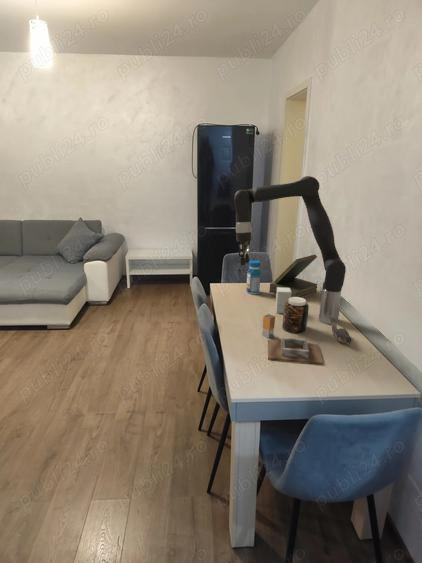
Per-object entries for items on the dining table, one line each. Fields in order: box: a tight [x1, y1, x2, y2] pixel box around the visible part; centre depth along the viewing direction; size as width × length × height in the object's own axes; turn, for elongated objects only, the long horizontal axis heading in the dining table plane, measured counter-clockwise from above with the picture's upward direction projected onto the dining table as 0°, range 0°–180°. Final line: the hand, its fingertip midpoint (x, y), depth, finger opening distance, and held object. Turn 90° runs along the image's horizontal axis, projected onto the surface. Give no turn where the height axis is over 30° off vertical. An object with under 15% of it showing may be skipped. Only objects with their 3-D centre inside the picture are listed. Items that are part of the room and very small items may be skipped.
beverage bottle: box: [245, 259, 262, 295], centre depth 226 cm, size 8×8×20 cm
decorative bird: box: [328, 317, 352, 347], centre depth 173 cm, size 6×25×5 cm, turn 4°
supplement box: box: [275, 287, 292, 314], centre depth 199 cm, size 7×7×13 cm
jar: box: [282, 297, 310, 334], centre depth 179 cm, size 12×12×15 cm
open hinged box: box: [268, 254, 318, 299], centre depth 227 cm, size 23×20×25 cm
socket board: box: [267, 337, 324, 366], centre depth 157 cm, size 22×16×4 cm
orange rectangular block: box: [261, 313, 276, 339], centre depth 171 cm, size 5×4×10 cm
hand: (245, 263), depth 184 cm, fingers open, 8 cm apart
